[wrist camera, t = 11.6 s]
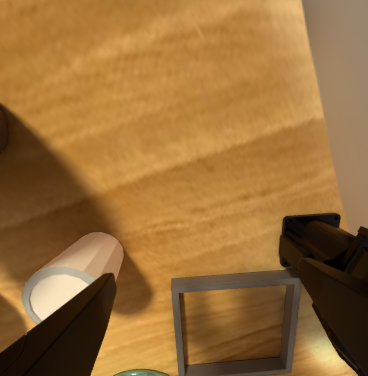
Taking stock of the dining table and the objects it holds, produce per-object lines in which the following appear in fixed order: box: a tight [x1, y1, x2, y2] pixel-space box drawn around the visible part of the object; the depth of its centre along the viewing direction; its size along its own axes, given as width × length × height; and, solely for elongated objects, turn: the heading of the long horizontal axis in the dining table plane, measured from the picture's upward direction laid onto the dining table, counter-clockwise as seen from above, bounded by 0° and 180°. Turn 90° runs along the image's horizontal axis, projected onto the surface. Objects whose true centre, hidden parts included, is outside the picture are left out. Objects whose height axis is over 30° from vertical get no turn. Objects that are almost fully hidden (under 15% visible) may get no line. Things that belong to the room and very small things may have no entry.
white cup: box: [21, 232, 124, 325], centre depth 18 cm, size 7×7×7 cm
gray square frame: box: [171, 269, 302, 376], centre depth 24 cm, size 16×16×2 cm
